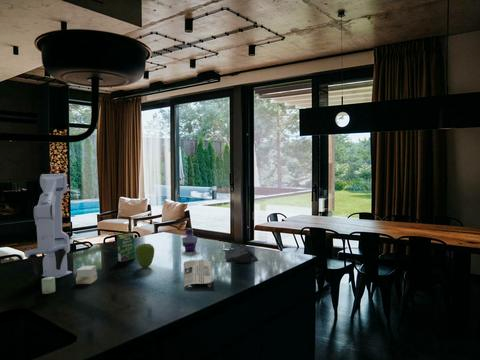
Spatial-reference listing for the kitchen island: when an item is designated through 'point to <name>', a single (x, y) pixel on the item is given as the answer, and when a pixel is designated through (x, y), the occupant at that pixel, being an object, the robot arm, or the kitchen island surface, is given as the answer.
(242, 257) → the dark slate chunk
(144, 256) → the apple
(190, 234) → the potion bottle
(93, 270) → the tower top block
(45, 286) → the sage cylinder
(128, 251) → the coffee box
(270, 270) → the kitchen island surface
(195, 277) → the newspaper
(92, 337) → the kitchen island surface
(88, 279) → the tower base block
